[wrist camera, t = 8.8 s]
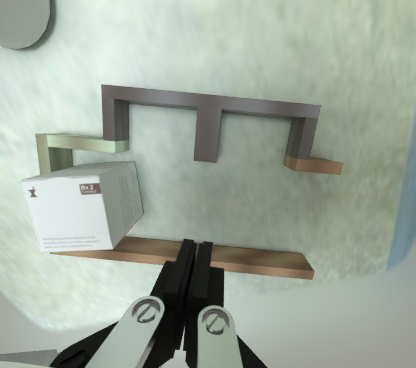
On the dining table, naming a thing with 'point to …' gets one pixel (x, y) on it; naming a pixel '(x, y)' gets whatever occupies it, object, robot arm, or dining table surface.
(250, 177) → the dining table surface
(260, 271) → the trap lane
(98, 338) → the robot arm
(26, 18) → the can
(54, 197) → the skincare box
